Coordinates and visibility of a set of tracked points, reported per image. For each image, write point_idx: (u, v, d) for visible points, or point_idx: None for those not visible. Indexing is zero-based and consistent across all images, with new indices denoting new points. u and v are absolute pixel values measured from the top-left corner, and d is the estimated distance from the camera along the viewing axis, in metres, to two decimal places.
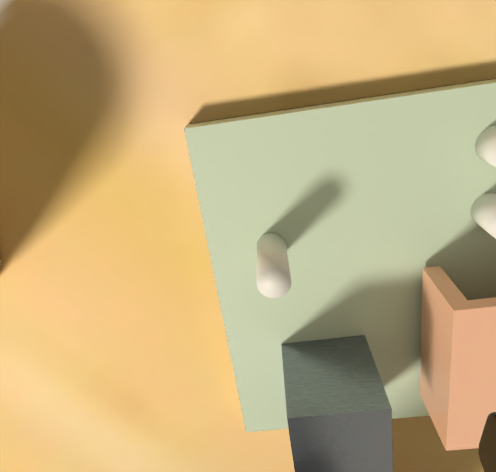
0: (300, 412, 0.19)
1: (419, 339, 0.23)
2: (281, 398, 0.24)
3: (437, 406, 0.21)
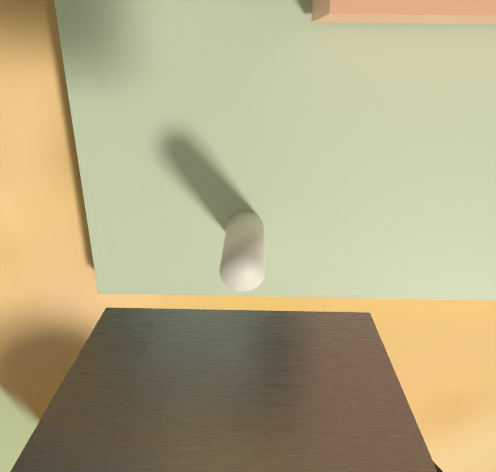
0: None
1: None
2: None
3: None
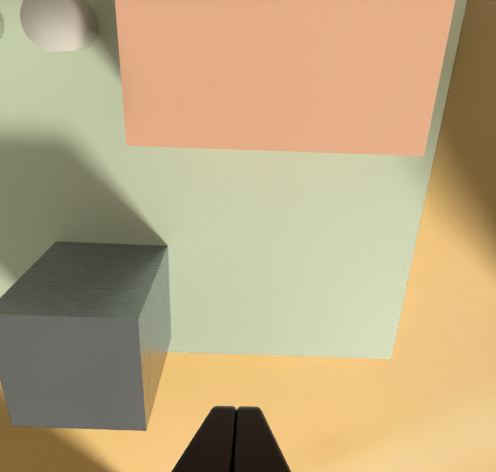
0: None
1: None
2: (344, 311, 0.18)
3: None
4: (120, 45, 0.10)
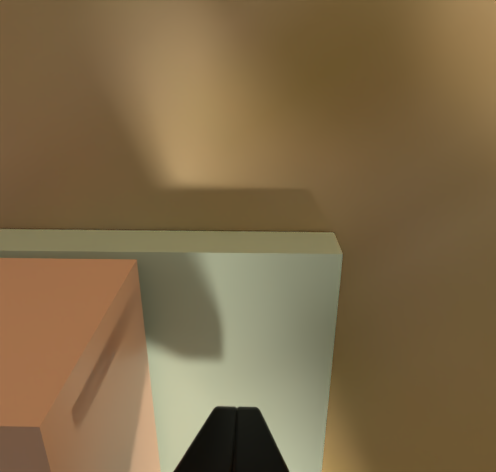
0: None
1: None
2: None
3: None
4: None
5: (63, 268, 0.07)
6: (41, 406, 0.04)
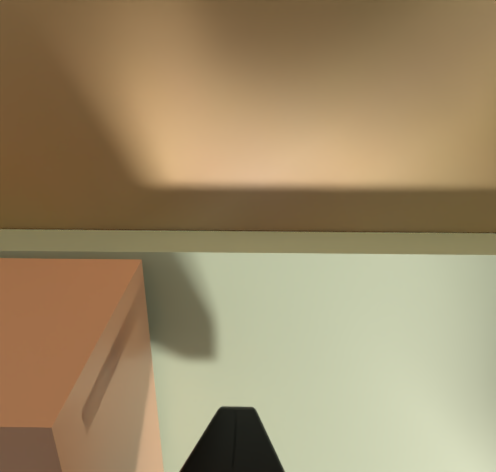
0: None
1: None
2: None
3: None
4: None
5: (67, 268, 0.07)
6: (52, 406, 0.04)
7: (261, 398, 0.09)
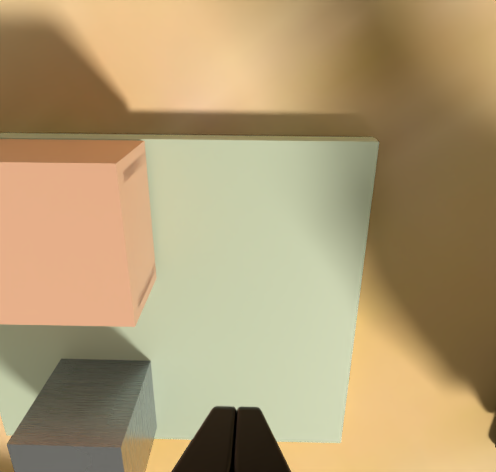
0: None
1: (236, 275, 0.19)
2: (298, 407, 0.22)
3: None
4: None
5: (112, 142, 0.16)
6: (115, 162, 0.13)
7: (202, 220, 0.18)
